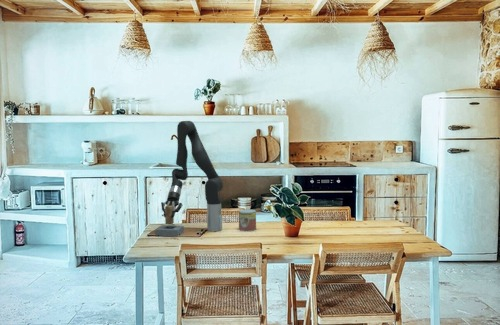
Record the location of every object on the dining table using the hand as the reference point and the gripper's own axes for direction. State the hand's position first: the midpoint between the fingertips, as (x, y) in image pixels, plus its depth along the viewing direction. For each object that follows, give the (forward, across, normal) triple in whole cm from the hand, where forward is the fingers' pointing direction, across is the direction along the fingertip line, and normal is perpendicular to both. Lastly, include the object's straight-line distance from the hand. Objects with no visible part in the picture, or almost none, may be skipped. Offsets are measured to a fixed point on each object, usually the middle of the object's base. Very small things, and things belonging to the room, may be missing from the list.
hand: (168, 216), depth 274 cm
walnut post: (+2, 0, +5) cm, 5 cm away
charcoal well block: (+7, 0, +9) cm, 11 cm away
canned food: (-6, +46, +22) cm, 52 cm away
